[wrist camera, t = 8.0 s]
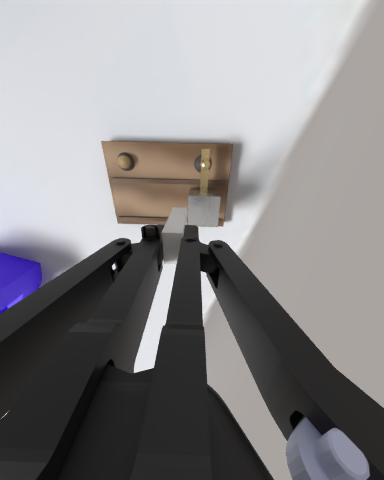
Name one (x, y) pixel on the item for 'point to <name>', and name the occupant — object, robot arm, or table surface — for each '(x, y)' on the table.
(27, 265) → the bracket
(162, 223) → the wooden knob panel
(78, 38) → the table surface
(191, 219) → the slider with brass pointer
